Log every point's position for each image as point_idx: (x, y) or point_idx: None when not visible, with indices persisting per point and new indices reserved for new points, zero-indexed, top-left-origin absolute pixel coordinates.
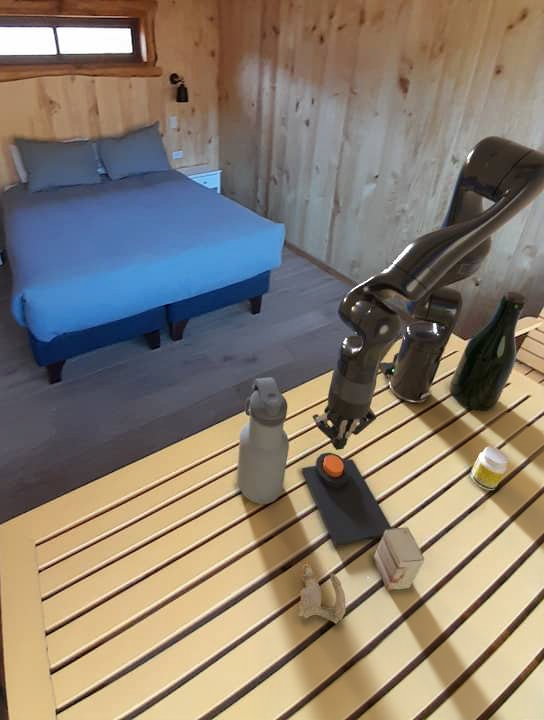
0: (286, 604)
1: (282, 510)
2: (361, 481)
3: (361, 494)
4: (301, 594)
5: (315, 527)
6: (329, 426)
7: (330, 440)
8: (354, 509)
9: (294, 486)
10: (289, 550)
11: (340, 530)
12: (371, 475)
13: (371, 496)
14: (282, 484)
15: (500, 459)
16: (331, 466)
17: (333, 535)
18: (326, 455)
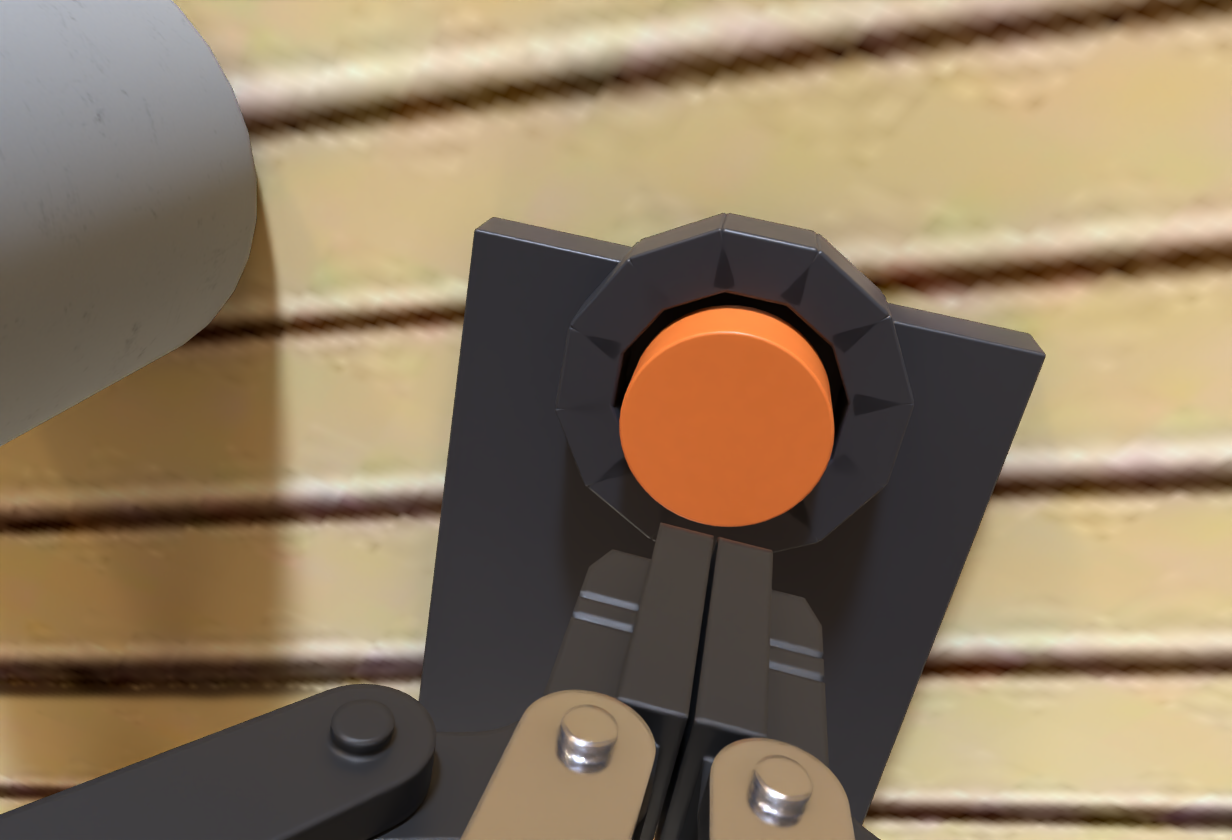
0: (48, 785)
1: (193, 421)
2: (931, 554)
3: (834, 628)
4: None
5: (373, 599)
6: (380, 827)
7: (587, 572)
8: None
9: (365, 305)
10: (148, 625)
11: (490, 725)
12: (1104, 500)
13: (901, 672)
14: (140, 362)
15: None
16: (674, 449)
17: None
18: (760, 269)
